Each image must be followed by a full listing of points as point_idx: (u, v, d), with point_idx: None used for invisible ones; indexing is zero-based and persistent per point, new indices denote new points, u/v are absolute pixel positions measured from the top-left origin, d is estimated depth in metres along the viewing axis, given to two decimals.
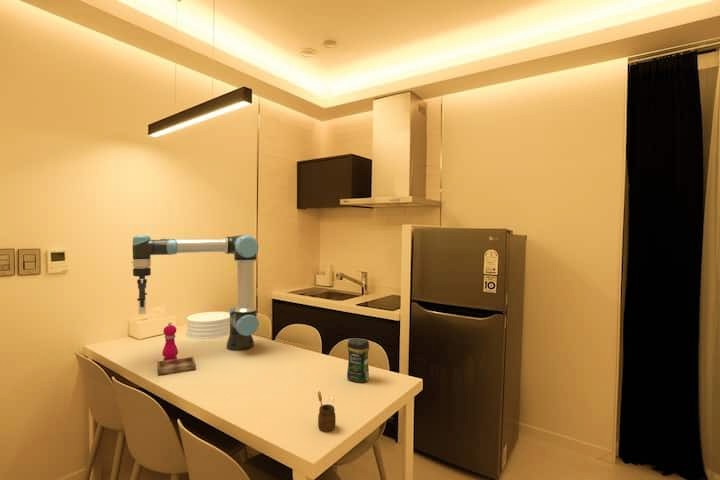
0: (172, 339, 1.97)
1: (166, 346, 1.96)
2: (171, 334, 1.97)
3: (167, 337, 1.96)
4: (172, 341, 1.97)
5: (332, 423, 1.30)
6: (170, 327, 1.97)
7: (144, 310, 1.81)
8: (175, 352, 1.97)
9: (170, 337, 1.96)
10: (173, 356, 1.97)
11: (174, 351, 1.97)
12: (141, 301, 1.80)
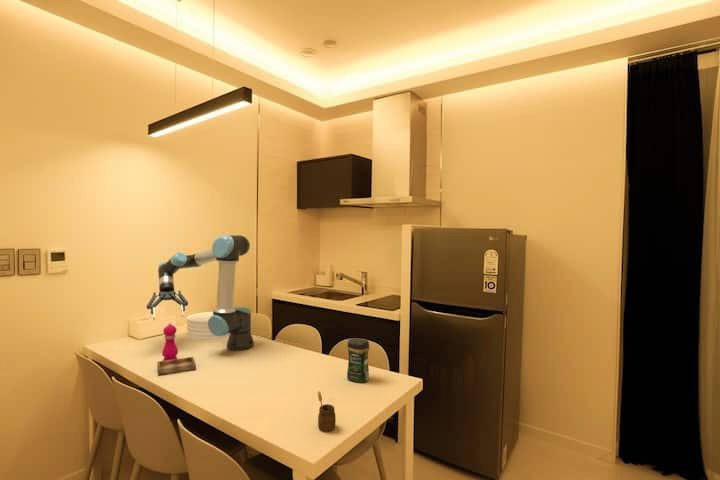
0: (172, 339, 1.97)
1: (166, 346, 1.96)
2: (171, 334, 1.97)
3: (167, 337, 1.96)
4: (172, 341, 1.97)
5: (332, 423, 1.30)
6: (170, 327, 1.97)
7: None
8: (175, 352, 1.97)
9: (170, 337, 1.96)
10: (173, 356, 1.97)
11: (174, 351, 1.97)
12: None
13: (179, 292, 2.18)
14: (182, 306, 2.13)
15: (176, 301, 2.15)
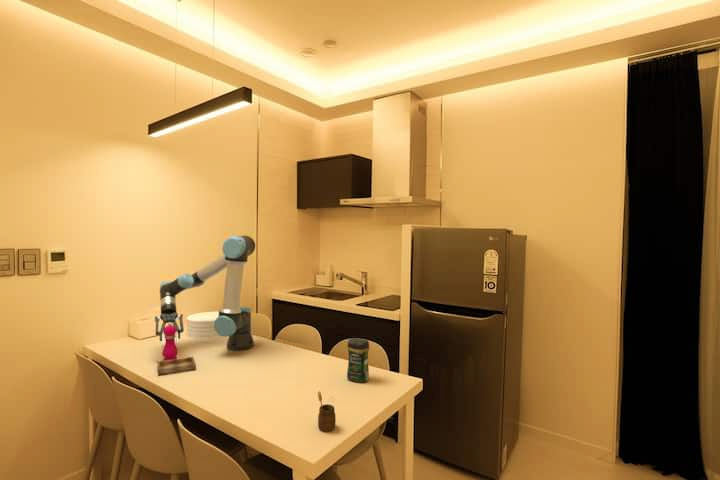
0: (172, 339, 1.97)
1: (166, 346, 1.96)
2: (171, 334, 1.97)
3: (167, 337, 1.96)
4: (172, 341, 1.97)
5: (332, 423, 1.30)
6: (170, 327, 1.97)
7: None
8: (175, 352, 1.97)
9: (170, 337, 1.96)
10: (173, 356, 1.97)
11: (174, 351, 1.97)
12: (159, 335, 1.97)
13: (181, 316, 2.07)
14: (177, 333, 1.99)
15: (174, 325, 2.03)
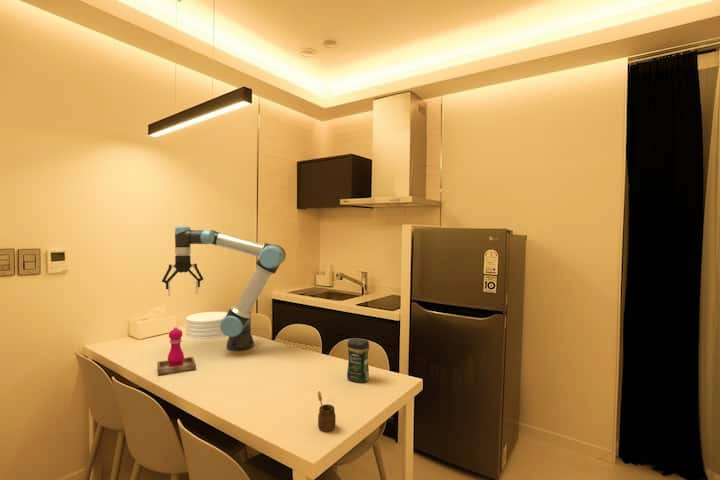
0: (178, 344, 1.86)
1: (172, 351, 1.85)
2: (177, 338, 1.85)
3: (173, 342, 1.84)
4: (178, 346, 1.86)
5: (332, 423, 1.30)
6: (176, 331, 1.85)
7: (168, 292, 2.04)
8: (181, 357, 1.86)
9: (176, 342, 1.85)
10: (179, 362, 1.86)
11: (180, 356, 1.85)
12: None
13: (195, 266, 2.10)
14: (197, 284, 2.10)
15: None
